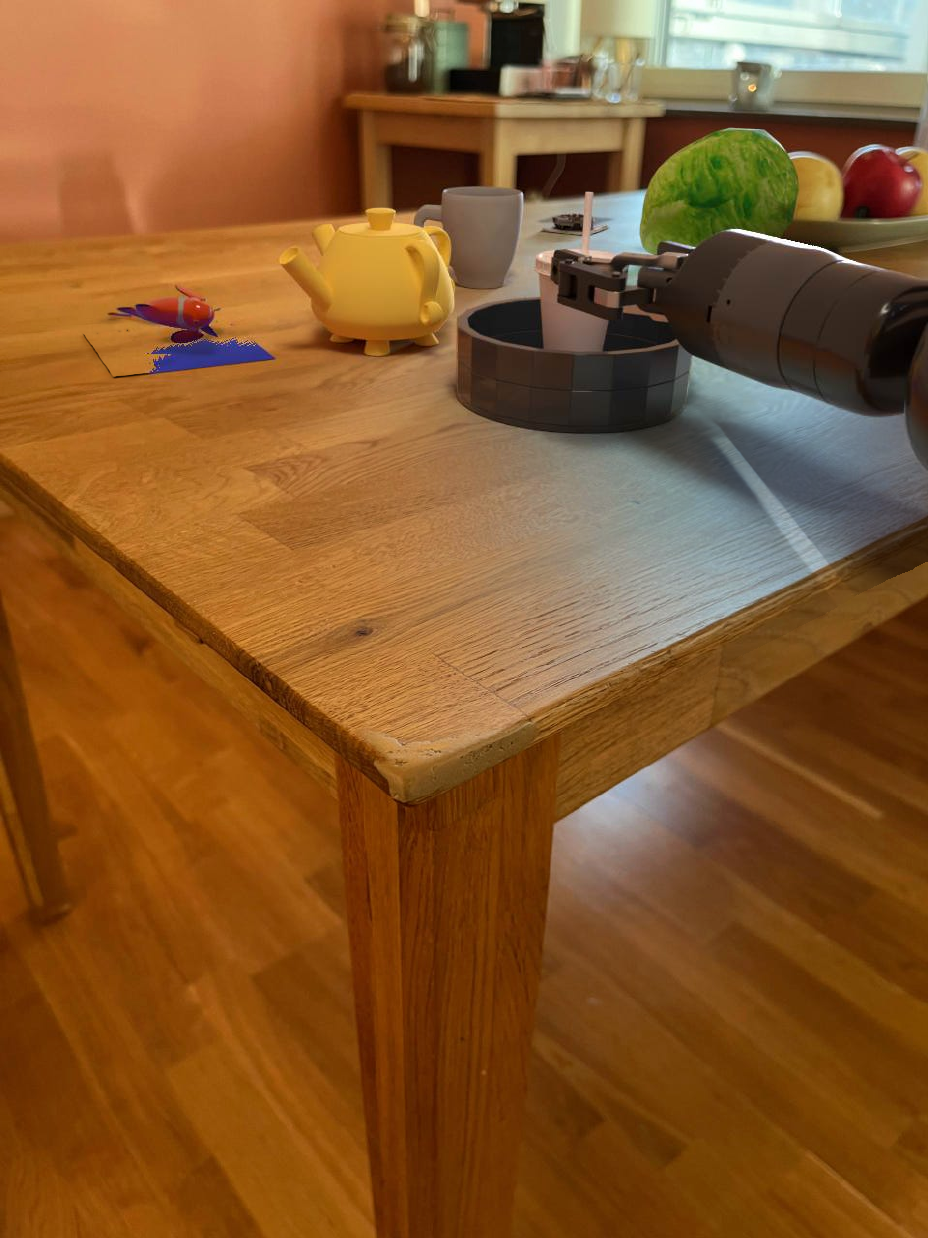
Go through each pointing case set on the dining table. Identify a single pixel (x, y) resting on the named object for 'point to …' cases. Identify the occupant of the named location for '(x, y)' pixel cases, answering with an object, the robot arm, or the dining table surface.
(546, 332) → the smoothie
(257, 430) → the dining table surface
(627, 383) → the pot
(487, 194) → the mug
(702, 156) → the lettuce
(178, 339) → the fish
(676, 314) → the robot arm
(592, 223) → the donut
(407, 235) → the teapot
